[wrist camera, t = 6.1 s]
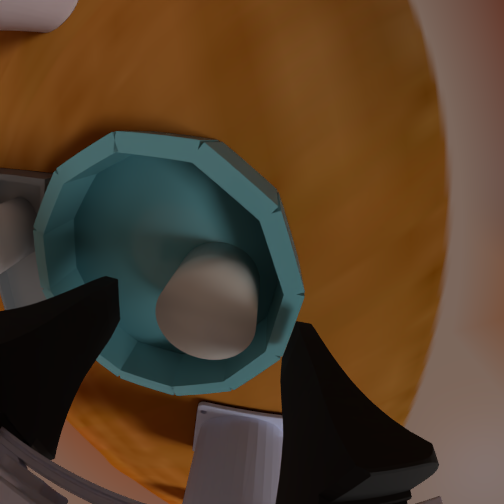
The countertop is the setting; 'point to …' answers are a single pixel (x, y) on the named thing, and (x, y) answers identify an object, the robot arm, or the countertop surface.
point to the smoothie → (34, 14)
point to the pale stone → (211, 302)
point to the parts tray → (25, 271)
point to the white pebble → (16, 231)
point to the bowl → (166, 247)
